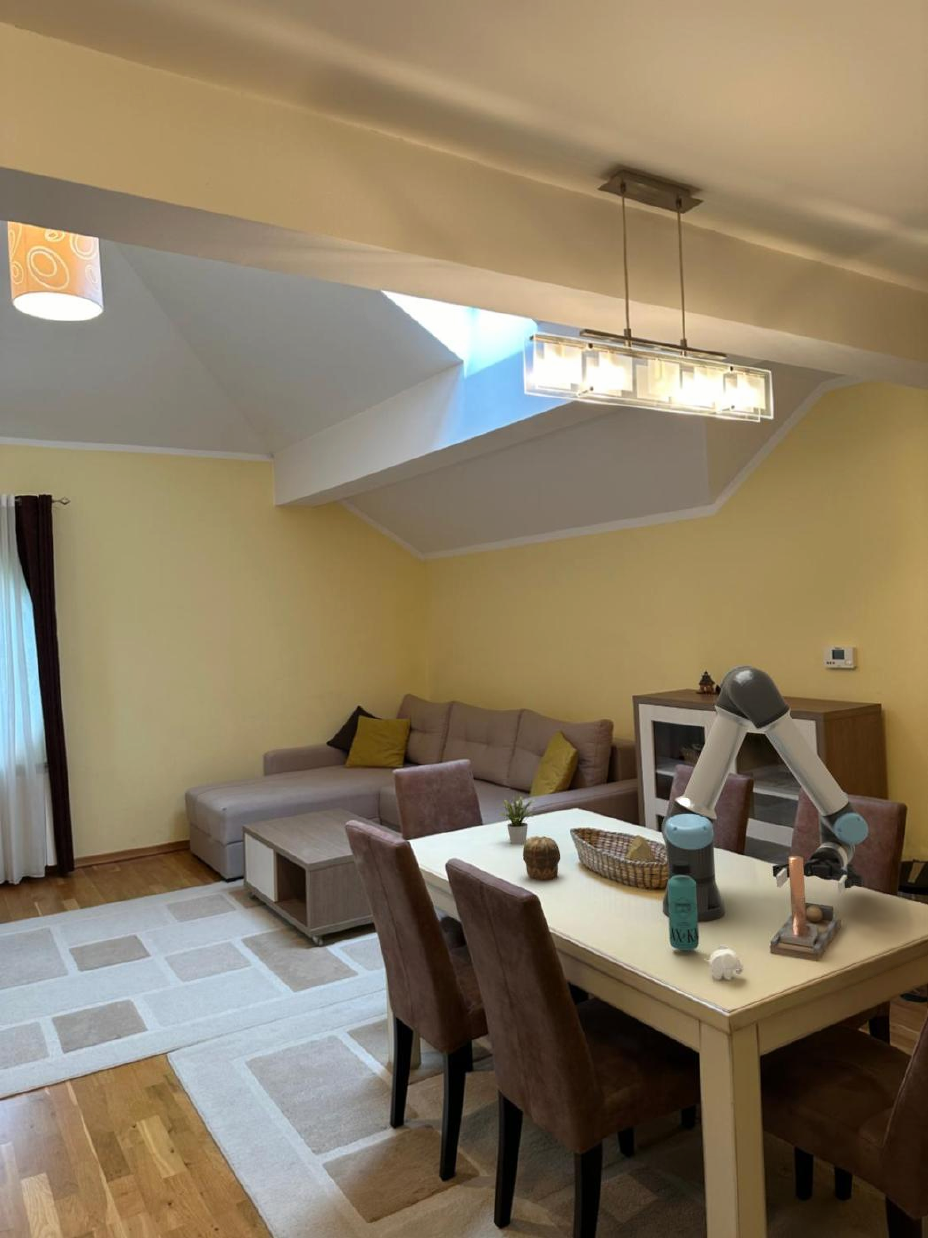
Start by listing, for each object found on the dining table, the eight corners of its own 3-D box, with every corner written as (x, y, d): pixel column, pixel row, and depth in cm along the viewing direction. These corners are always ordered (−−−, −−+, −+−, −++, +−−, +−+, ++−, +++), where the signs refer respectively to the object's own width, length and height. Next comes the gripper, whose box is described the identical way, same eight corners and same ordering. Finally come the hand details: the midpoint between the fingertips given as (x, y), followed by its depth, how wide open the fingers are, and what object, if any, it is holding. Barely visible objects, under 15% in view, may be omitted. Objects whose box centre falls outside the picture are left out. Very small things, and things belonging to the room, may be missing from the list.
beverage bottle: (666, 947, 195) (661, 859, 195) (694, 945, 195) (689, 857, 195) (675, 958, 188) (670, 867, 188) (704, 956, 189) (699, 865, 189)
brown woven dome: (519, 881, 250) (517, 840, 250) (530, 871, 260) (528, 831, 261) (555, 884, 246) (553, 842, 246) (565, 873, 256) (563, 833, 256)
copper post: (813, 947, 186) (809, 863, 186) (780, 942, 190) (776, 859, 190) (819, 938, 191) (815, 856, 191) (787, 933, 195) (783, 852, 195)
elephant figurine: (747, 985, 173) (746, 955, 173) (706, 984, 174) (705, 955, 174) (742, 971, 180) (741, 943, 180) (703, 970, 181) (701, 942, 181)
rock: (667, 865, 251) (655, 852, 261) (650, 845, 249) (639, 832, 259) (639, 889, 250) (628, 875, 260) (622, 869, 249) (611, 855, 259)
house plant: (542, 848, 286) (539, 799, 286) (500, 850, 287) (498, 801, 287) (538, 837, 301) (536, 791, 301) (499, 839, 301) (497, 793, 301)
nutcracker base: (818, 961, 183) (817, 937, 183) (770, 953, 188) (769, 929, 189) (841, 925, 203) (840, 904, 203) (797, 919, 208) (796, 898, 208)
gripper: (883, 882, 209) (868, 908, 192) (778, 870, 223) (755, 894, 206) (881, 851, 209) (865, 875, 192) (776, 842, 223) (753, 863, 206)
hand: (808, 885), depth 199 cm, fingers open, 13 cm apart
